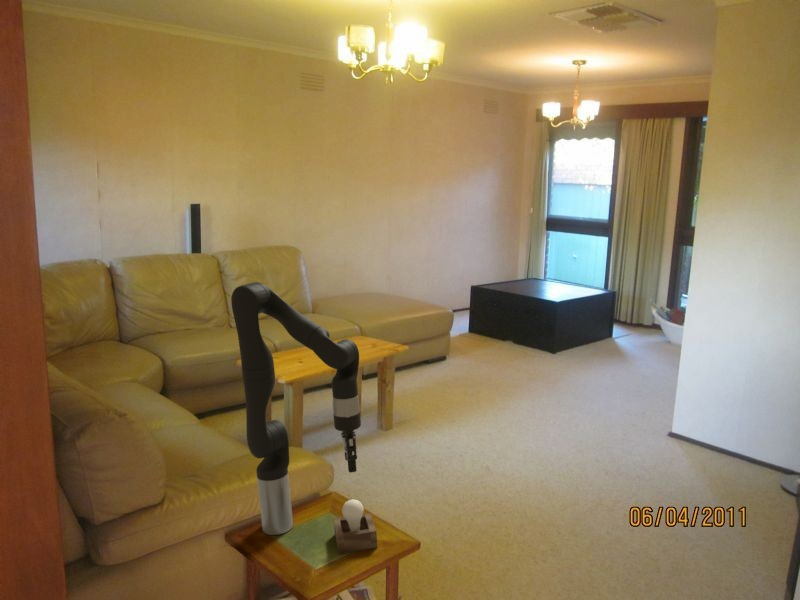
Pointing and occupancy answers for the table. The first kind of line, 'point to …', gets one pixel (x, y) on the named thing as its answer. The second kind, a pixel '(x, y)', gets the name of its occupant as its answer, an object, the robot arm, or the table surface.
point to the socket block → (355, 535)
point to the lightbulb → (353, 514)
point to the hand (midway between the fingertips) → (350, 465)
